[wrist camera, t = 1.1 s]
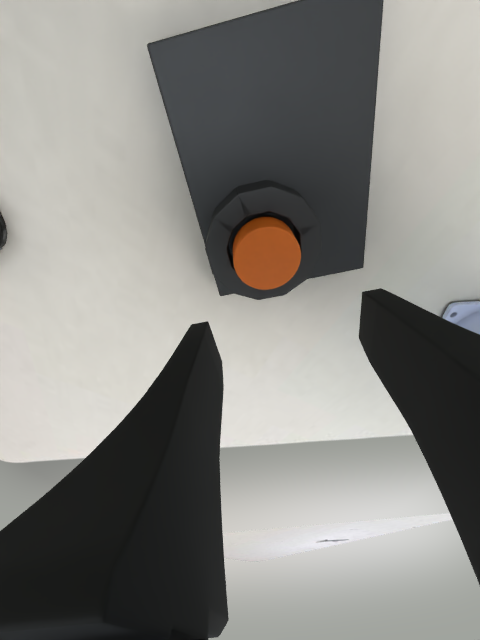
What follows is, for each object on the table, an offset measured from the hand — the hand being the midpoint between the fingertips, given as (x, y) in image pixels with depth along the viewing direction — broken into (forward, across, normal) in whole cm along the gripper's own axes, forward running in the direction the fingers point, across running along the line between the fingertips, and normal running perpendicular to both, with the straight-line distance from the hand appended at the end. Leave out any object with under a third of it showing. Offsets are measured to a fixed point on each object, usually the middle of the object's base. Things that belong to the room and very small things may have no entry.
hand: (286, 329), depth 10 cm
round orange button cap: (+8, 0, 0) cm, 8 cm away
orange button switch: (+10, -2, -3) cm, 11 cm away
